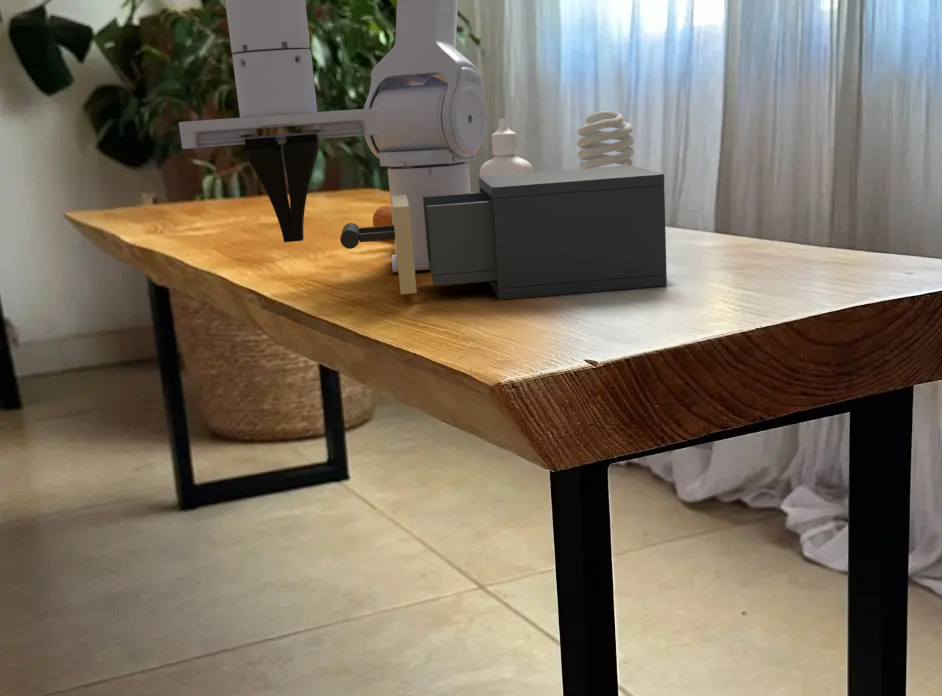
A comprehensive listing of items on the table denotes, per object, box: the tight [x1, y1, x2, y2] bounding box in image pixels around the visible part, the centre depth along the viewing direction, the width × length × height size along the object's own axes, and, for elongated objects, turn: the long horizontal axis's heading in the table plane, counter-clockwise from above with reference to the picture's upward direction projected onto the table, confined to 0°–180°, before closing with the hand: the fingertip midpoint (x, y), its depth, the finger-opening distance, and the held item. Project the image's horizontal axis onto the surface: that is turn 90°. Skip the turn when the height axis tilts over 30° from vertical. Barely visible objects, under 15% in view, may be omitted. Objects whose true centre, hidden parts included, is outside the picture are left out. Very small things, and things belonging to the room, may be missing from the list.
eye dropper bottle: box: [479, 118, 534, 177], centre depth 122 cm, size 4×6×12 cm
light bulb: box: [576, 110, 635, 169], centre depth 122 cm, size 6×6×12 cm
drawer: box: [339, 191, 497, 295], centre depth 95 cm, size 16×11×6 cm
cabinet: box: [478, 165, 668, 301], centre depth 96 cm, size 13×13×8 cm
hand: (293, 240), depth 94 cm, fingers closed
